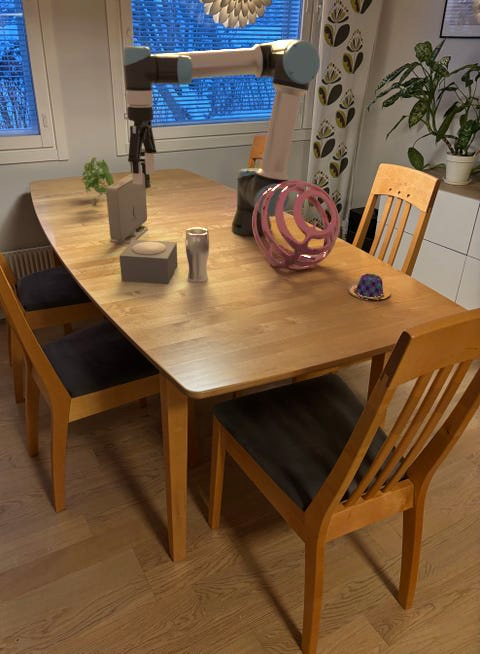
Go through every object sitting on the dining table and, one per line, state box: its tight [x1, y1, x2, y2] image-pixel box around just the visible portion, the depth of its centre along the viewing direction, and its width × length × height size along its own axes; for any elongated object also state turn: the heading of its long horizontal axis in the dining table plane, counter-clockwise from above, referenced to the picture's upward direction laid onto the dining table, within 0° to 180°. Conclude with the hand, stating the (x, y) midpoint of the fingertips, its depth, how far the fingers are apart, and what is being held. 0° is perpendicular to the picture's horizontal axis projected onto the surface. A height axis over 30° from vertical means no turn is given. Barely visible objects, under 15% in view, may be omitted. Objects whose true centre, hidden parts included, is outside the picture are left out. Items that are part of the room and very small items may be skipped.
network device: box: [105, 173, 149, 245], centre depth 183 cm, size 26×9×20 cm, turn 168°
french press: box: [129, 148, 151, 189], centre depth 245 cm, size 12×9×23 cm
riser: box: [119, 239, 178, 285], centre depth 156 cm, size 14×14×8 cm
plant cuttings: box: [81, 156, 115, 205], centre depth 220 cm, size 35×17×22 cm
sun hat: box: [348, 273, 384, 301], centre depth 149 cm, size 12×12×5 cm
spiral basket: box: [252, 179, 341, 272], centre depth 162 cm, size 28×28×27 cm
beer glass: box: [185, 227, 210, 284], centre depth 151 cm, size 7×7×15 cm
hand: (144, 178), depth 161 cm, fingers open, 13 cm apart
